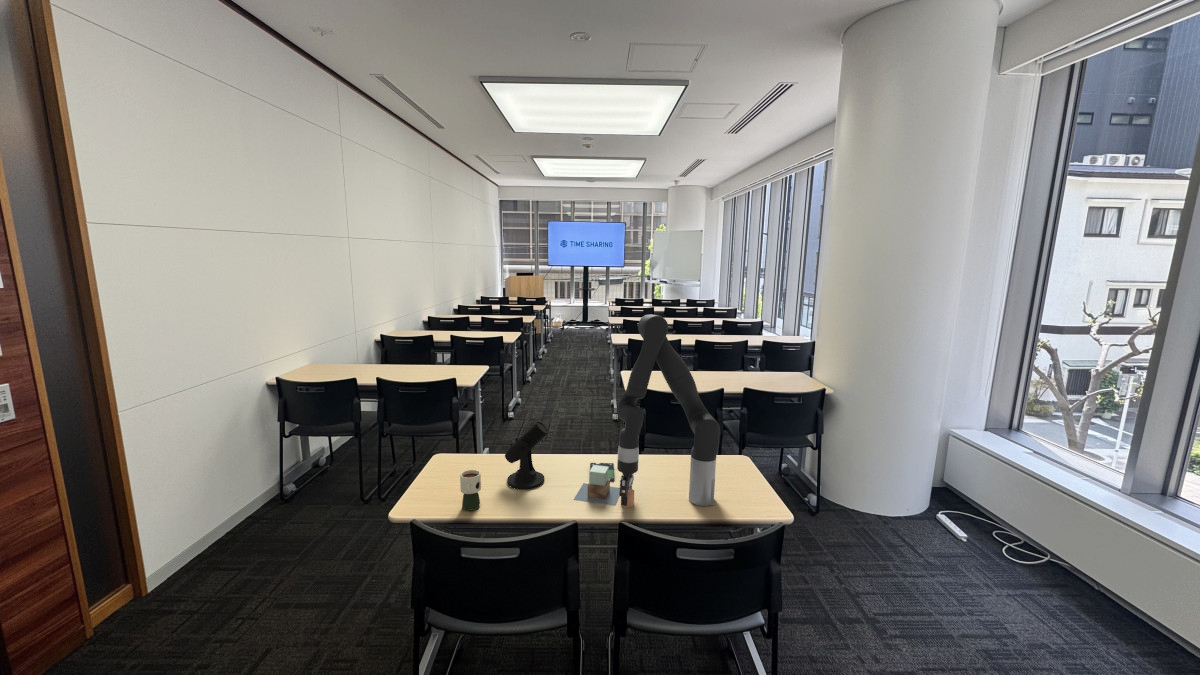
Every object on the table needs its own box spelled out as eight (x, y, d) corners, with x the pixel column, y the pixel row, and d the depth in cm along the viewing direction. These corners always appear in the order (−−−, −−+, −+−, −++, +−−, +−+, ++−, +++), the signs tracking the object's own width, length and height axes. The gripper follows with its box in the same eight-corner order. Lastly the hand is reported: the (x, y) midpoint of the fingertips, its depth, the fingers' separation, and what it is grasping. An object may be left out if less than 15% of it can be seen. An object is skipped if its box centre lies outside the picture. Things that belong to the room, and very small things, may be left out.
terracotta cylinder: (634, 504, 179) (635, 489, 178) (632, 510, 174) (633, 495, 173) (622, 502, 180) (622, 487, 179) (619, 508, 175) (619, 493, 174)
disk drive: (589, 468, 210) (589, 483, 195) (589, 462, 210) (589, 477, 195) (613, 468, 210) (614, 484, 196) (613, 462, 210) (615, 477, 195)
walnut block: (609, 490, 187) (610, 478, 186) (605, 499, 180) (605, 486, 180) (592, 488, 189) (592, 476, 188) (587, 496, 182) (587, 484, 181)
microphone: (545, 490, 188) (545, 428, 184) (501, 489, 189) (500, 427, 185) (550, 473, 203) (550, 416, 199) (509, 472, 203) (508, 415, 199)
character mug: (478, 515, 169) (477, 480, 167) (457, 515, 169) (456, 480, 167) (483, 500, 180) (483, 467, 178) (464, 500, 179) (463, 467, 177)
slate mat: (622, 490, 190) (622, 488, 189) (615, 507, 176) (615, 505, 176) (583, 485, 193) (583, 483, 193) (573, 501, 180) (573, 499, 180)
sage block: (608, 479, 186) (608, 466, 185) (604, 486, 180) (605, 473, 179) (593, 477, 187) (593, 464, 187) (589, 483, 182) (589, 471, 181)
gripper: (634, 466, 167) (632, 510, 169) (641, 451, 180) (639, 492, 183) (613, 464, 169) (611, 507, 171) (621, 448, 182) (620, 489, 185)
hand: (626, 499), depth 177 cm, fingers open, 8 cm apart
